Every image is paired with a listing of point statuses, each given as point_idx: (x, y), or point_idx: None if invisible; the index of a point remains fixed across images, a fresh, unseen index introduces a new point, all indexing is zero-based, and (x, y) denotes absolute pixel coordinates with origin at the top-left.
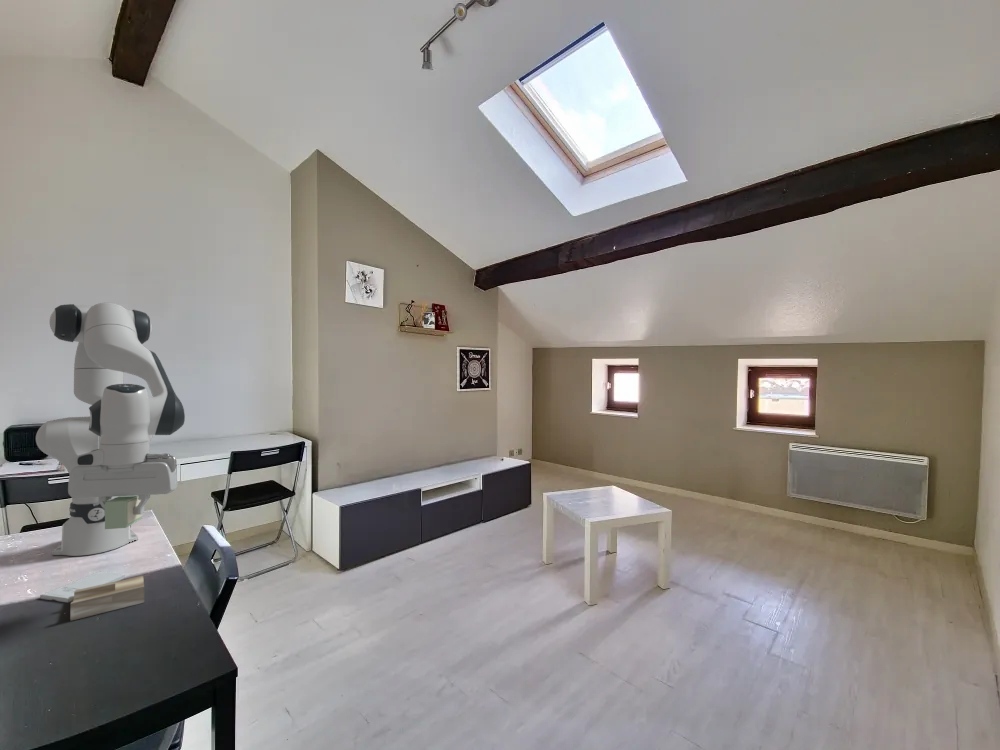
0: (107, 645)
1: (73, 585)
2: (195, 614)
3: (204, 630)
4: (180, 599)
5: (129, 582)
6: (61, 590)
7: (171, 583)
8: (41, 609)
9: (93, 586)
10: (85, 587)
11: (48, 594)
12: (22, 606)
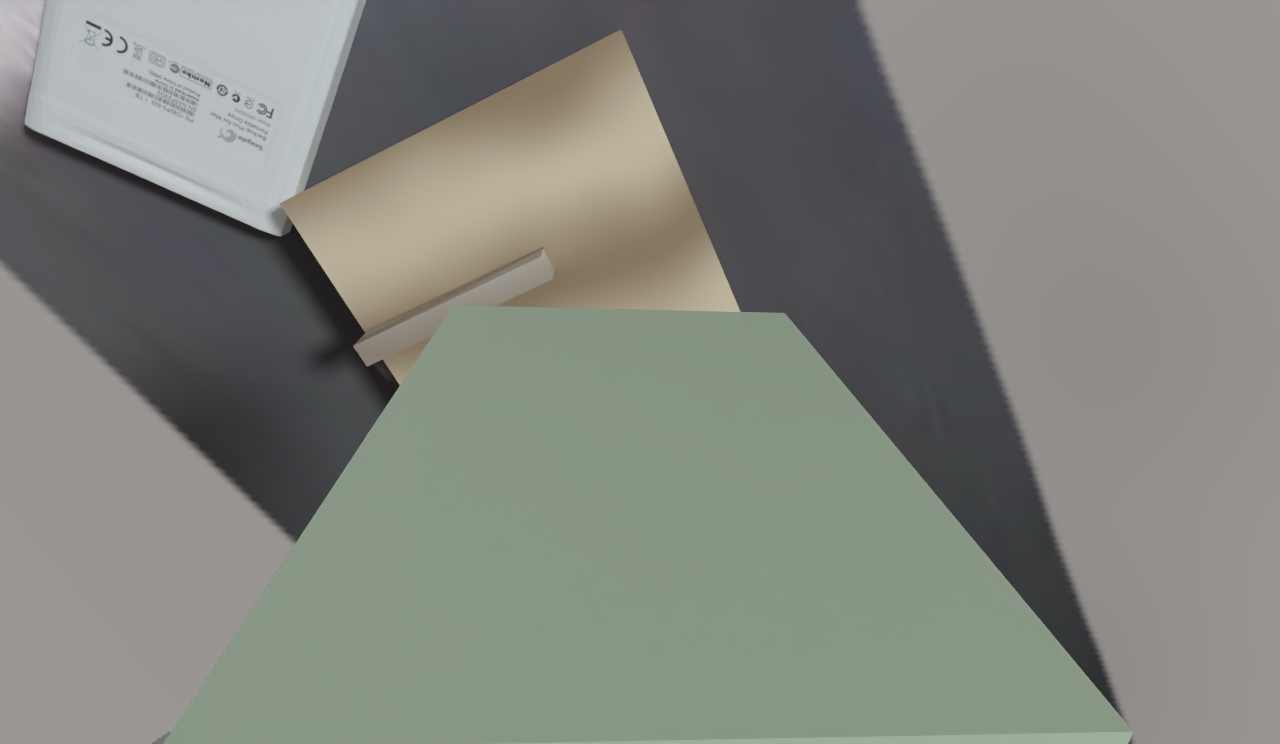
0: None
1: (134, 4)
2: (1029, 515)
3: (1079, 639)
4: (929, 346)
5: (584, 154)
6: (118, 83)
7: (815, 87)
8: (202, 295)
9: (361, 164)
10: (265, 76)
11: (81, 136)
12: (36, 225)
